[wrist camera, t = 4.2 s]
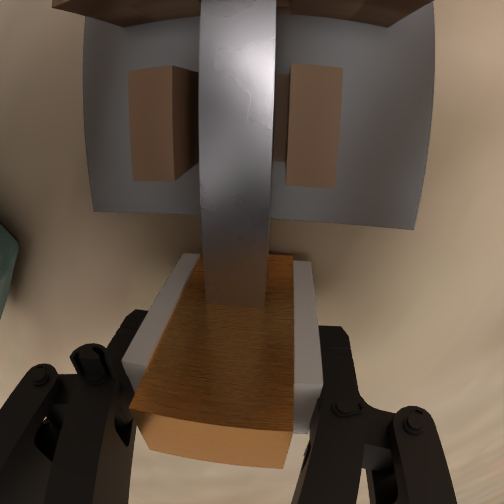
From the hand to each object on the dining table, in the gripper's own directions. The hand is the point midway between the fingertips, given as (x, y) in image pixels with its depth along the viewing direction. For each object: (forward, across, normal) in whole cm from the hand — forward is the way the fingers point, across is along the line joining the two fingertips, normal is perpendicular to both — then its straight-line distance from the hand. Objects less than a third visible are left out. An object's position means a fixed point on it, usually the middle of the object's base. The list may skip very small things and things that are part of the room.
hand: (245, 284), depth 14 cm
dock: (+1, 0, +13) cm, 13 cm away
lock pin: (+1, 0, +9) cm, 9 cm away
